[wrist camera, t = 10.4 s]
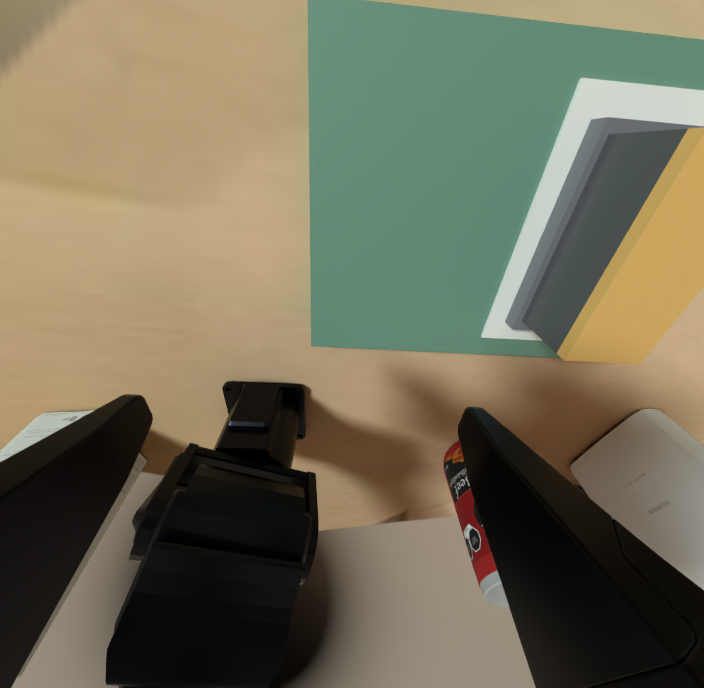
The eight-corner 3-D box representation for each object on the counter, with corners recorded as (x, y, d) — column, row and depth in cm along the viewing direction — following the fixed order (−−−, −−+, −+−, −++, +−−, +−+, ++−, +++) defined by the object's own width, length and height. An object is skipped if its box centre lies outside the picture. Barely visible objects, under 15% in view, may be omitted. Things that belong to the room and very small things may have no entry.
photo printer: (639, 402, 25) (837, 569, 15) (674, 411, 26) (884, 576, 16) (559, 466, 31) (666, 622, 21) (590, 472, 32) (708, 625, 21)
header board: (573, 347, 22) (636, 400, 17) (313, 334, 21) (304, 388, 16) (751, 60, 13) (984, 7, 8) (311, 10, 12) (288, -85, 7)
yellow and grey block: (584, 324, 18) (639, 364, 14) (521, 320, 17) (563, 360, 14) (695, 142, 12) (823, 138, 9) (608, 134, 12) (707, 127, 9)
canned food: (500, 420, 26) (582, 560, 17) (526, 460, 30) (605, 594, 21) (427, 451, 29) (465, 588, 20) (459, 485, 33) (504, 614, 23)
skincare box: (41, 411, 25) (-264, 670, 12) (109, 406, 24) (-132, 663, 12) (97, 467, 29) (-83, 695, 17) (154, 463, 29) (14, 691, 17)
